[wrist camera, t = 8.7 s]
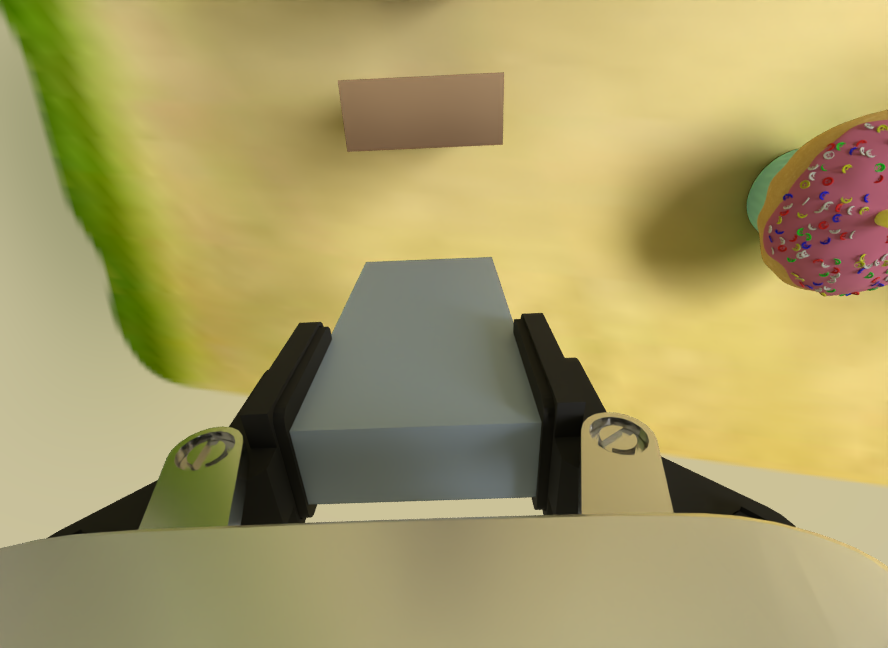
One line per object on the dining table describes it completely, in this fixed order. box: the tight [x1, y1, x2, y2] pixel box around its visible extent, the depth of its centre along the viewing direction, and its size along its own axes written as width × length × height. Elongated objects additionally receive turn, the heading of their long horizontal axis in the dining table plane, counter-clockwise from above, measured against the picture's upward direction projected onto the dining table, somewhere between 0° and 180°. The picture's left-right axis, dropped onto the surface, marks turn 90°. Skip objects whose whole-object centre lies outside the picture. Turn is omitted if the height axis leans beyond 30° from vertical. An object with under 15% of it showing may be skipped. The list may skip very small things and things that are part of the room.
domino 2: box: [290, 257, 542, 504], centre depth 13 cm, size 2×5×10 cm, turn 92°
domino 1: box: [338, 72, 504, 152], centre depth 18 cm, size 2×5×10 cm, turn 92°
